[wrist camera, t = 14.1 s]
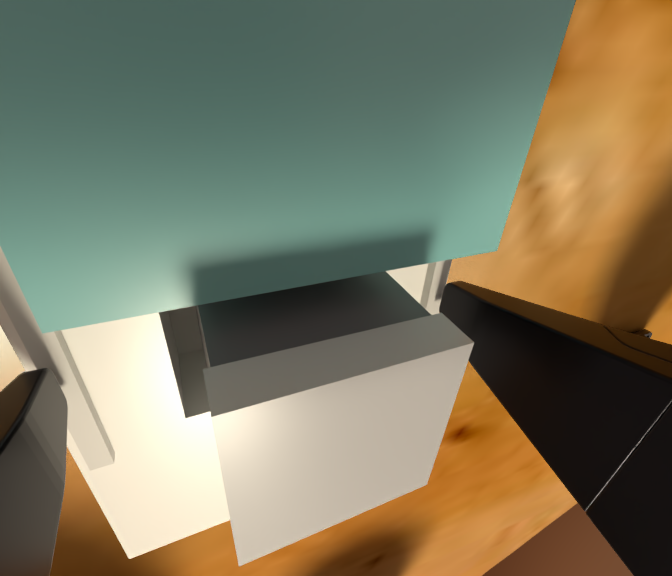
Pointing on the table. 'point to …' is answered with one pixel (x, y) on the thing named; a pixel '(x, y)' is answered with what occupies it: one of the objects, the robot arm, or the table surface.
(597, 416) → the robot arm
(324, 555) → the table surface
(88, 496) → the table surface
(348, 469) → the white rectangular block
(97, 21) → the block
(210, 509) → the socket strip
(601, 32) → the table surface
